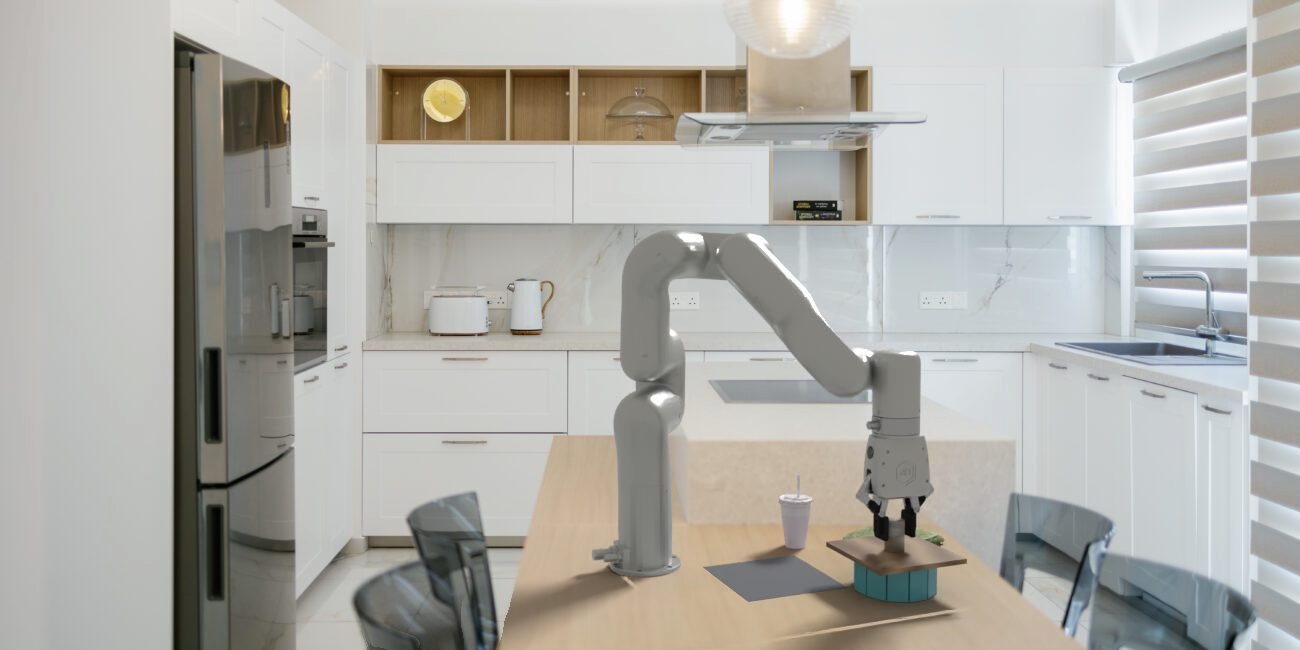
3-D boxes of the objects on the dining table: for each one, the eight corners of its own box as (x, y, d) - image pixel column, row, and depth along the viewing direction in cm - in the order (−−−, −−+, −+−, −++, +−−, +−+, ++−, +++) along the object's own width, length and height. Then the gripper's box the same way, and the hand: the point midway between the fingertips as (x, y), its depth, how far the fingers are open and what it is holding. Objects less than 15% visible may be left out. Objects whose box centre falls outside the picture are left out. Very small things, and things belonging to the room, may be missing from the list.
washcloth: (947, 545, 181) (948, 529, 180) (895, 565, 169) (895, 548, 169) (888, 531, 190) (889, 515, 190) (835, 549, 178) (835, 532, 178)
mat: (748, 604, 149) (748, 601, 149) (703, 569, 166) (703, 567, 166) (847, 590, 155) (847, 587, 155) (794, 557, 172) (794, 555, 172)
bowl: (883, 609, 147) (883, 571, 146) (838, 582, 159) (839, 547, 158) (952, 598, 151) (953, 561, 151) (904, 573, 163) (904, 539, 163)
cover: (880, 575, 144) (880, 538, 144) (826, 546, 159) (826, 512, 159) (966, 563, 150) (967, 527, 149) (906, 536, 165) (906, 503, 164)
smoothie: (812, 554, 174) (812, 479, 173) (777, 552, 175) (777, 478, 174) (813, 544, 180) (813, 471, 179) (779, 542, 182) (779, 470, 181)
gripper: (863, 434, 147) (862, 549, 148) (954, 426, 152) (952, 537, 154) (838, 426, 154) (837, 536, 155) (925, 419, 159) (924, 525, 161)
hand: (894, 535), depth 154 cm, fingers open, 4 cm apart
